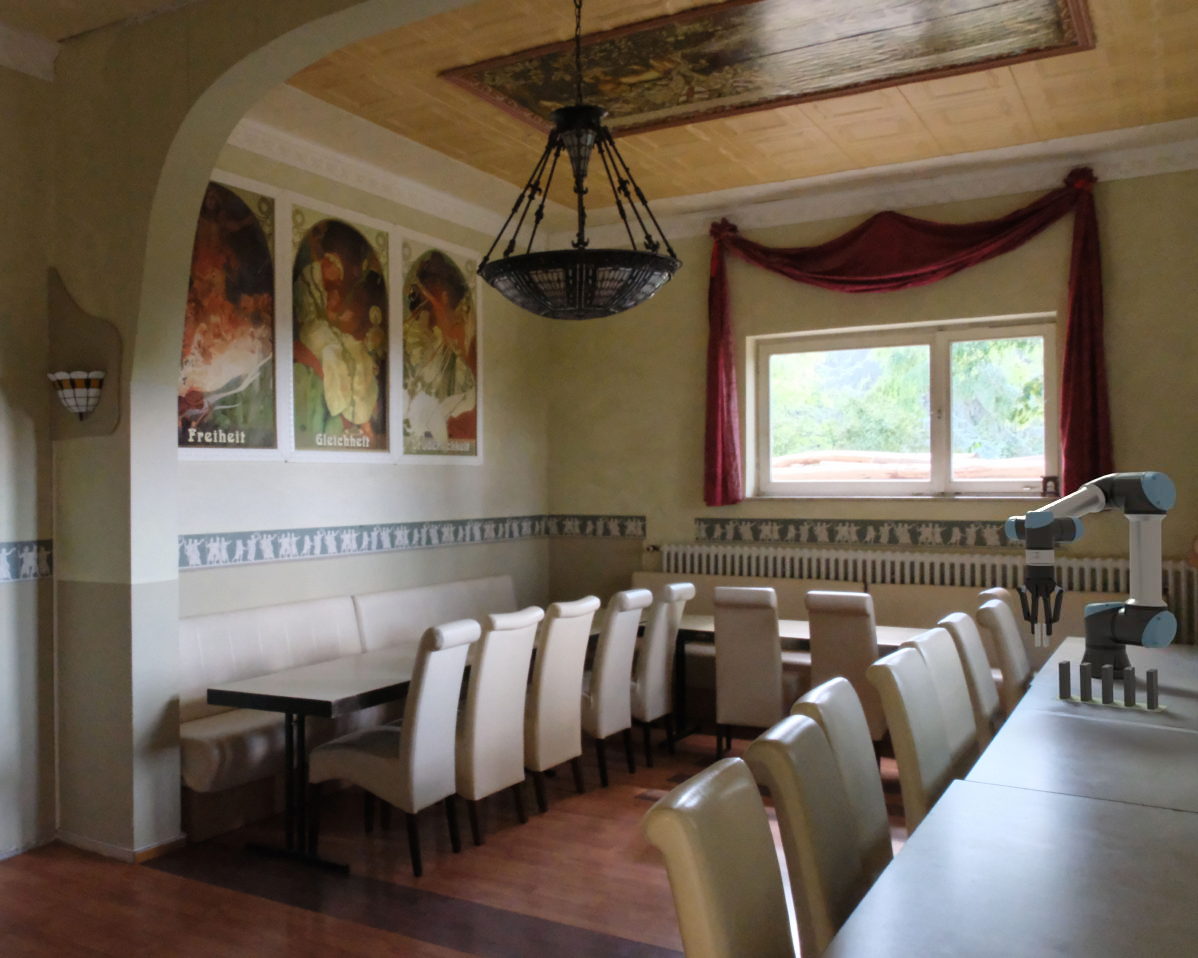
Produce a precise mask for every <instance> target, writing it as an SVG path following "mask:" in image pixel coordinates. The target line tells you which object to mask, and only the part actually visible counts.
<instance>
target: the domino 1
mask: <svg viewBox="0 0 1198 958" xmlns="http://www.w3.org/2000/svg"><path fill="white" fill-rule="evenodd" d="M1071 681H1072V680H1071V661H1070V660H1062V661H1059V662H1058V685H1059V686H1058V689H1059V690H1058V691H1059V692H1058V693H1059V694H1058V695H1059V699H1067V698H1069V697H1071V695H1072V688H1071V687H1072V685H1071Z"/></svg>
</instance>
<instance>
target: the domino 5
mask: <svg viewBox="0 0 1198 958" xmlns="http://www.w3.org/2000/svg"><path fill="white" fill-rule="evenodd" d="M1158 671H1159V670H1158V668H1157V669H1156V668H1150V669H1147V670H1146V671H1145V672H1146V704H1147V709H1151V710H1154V709H1156V708H1157V707H1158V705H1159V681H1158V679H1159V677H1158Z"/></svg>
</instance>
